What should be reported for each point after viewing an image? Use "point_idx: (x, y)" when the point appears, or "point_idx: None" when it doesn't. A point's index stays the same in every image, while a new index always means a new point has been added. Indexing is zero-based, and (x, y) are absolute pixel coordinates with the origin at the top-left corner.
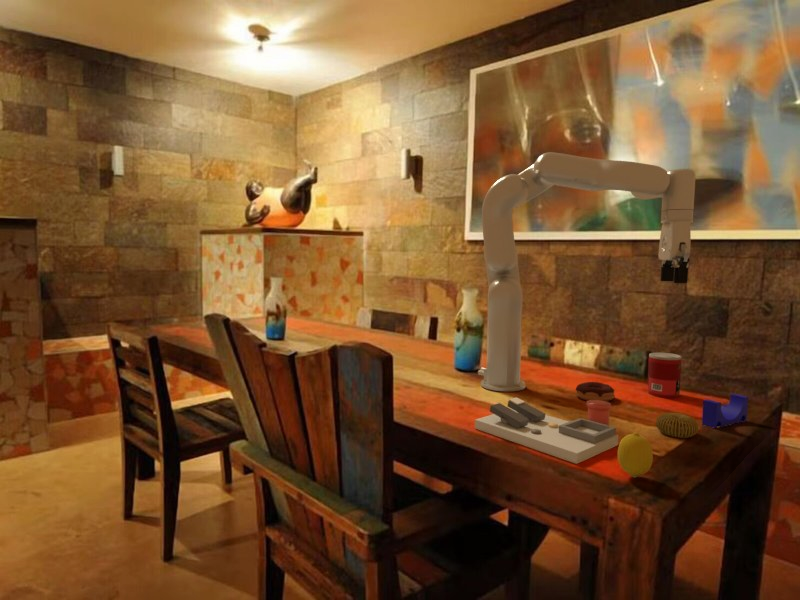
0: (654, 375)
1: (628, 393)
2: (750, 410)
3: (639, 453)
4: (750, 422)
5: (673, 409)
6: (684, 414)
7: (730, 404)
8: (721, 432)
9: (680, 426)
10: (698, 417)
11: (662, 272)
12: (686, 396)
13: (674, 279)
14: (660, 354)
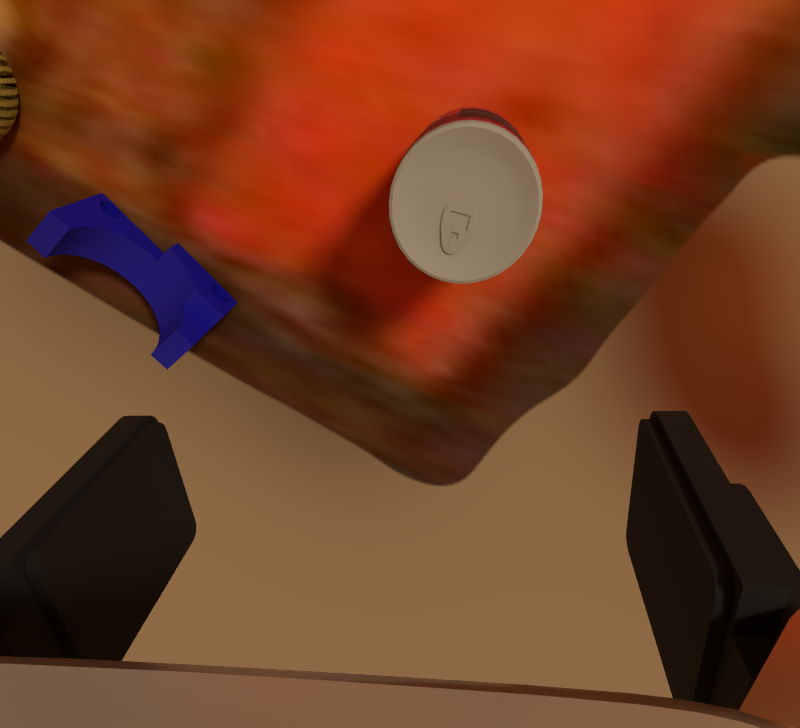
0: (424, 131)
1: (453, 10)
2: (324, 391)
3: None
4: None
5: (252, 151)
6: None
7: (180, 314)
8: None
9: (13, 107)
10: (185, 209)
11: (676, 502)
12: None
13: (101, 437)
14: (516, 195)
